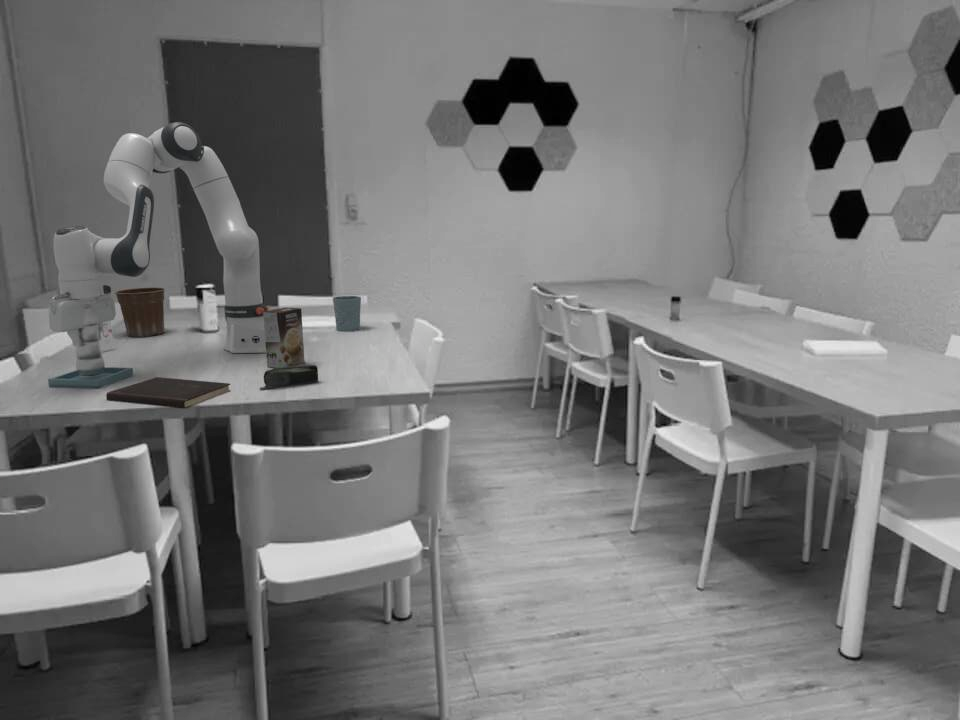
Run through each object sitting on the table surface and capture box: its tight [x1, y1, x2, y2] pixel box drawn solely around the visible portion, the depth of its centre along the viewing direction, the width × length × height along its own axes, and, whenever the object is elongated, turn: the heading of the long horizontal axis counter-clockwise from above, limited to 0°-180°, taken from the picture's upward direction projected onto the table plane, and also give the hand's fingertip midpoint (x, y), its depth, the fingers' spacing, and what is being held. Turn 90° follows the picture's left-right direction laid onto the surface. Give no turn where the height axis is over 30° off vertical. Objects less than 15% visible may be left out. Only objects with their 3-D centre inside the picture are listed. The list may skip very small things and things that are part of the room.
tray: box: [47, 366, 134, 389], centre depth 180 cm, size 14×14×2 cm
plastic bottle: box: [75, 304, 106, 376], centre depth 178 cm, size 6×7×20 cm
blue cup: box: [332, 295, 362, 333], centre depth 250 cm, size 10×10×12 cm
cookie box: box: [263, 307, 306, 369], centre depth 194 cm, size 9×6×16 cm
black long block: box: [259, 364, 319, 391], centre depth 173 cm, size 5×3×15 cm
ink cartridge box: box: [99, 320, 115, 353], centre depth 218 cm, size 9×5×15 cm, turn 65°
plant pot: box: [114, 287, 166, 338], centre depth 244 cm, size 16×16×16 cm
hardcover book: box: [105, 376, 231, 409], centre depth 165 cm, size 16×23×2 cm
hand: (87, 343), depth 178 cm, fingers closed on plastic bottle, 5 cm apart
